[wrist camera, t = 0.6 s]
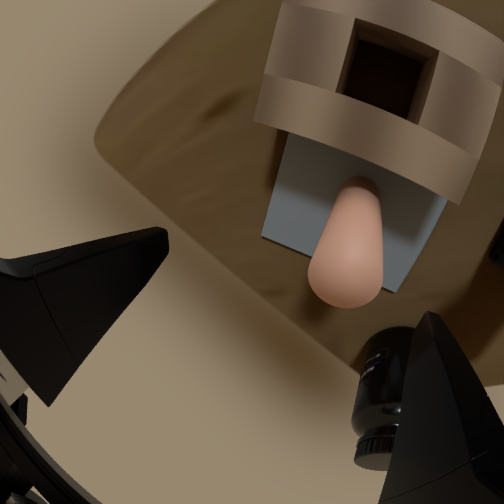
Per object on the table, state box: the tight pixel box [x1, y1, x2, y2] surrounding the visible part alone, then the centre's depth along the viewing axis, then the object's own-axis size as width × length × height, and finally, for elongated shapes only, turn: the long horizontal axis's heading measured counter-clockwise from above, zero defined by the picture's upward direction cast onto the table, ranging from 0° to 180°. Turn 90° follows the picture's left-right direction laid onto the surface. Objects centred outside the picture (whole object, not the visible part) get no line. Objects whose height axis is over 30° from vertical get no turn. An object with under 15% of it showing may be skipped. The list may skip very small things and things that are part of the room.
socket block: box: [253, 0, 504, 205], centre depth 12 cm, size 12×10×5 cm
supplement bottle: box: [351, 326, 415, 471], centre depth 19 cm, size 7×7×12 cm
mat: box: [261, 132, 448, 293], centre depth 20 cm, size 12×9×1 cm
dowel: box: [308, 176, 383, 308], centre depth 15 cm, size 3×3×10 cm
